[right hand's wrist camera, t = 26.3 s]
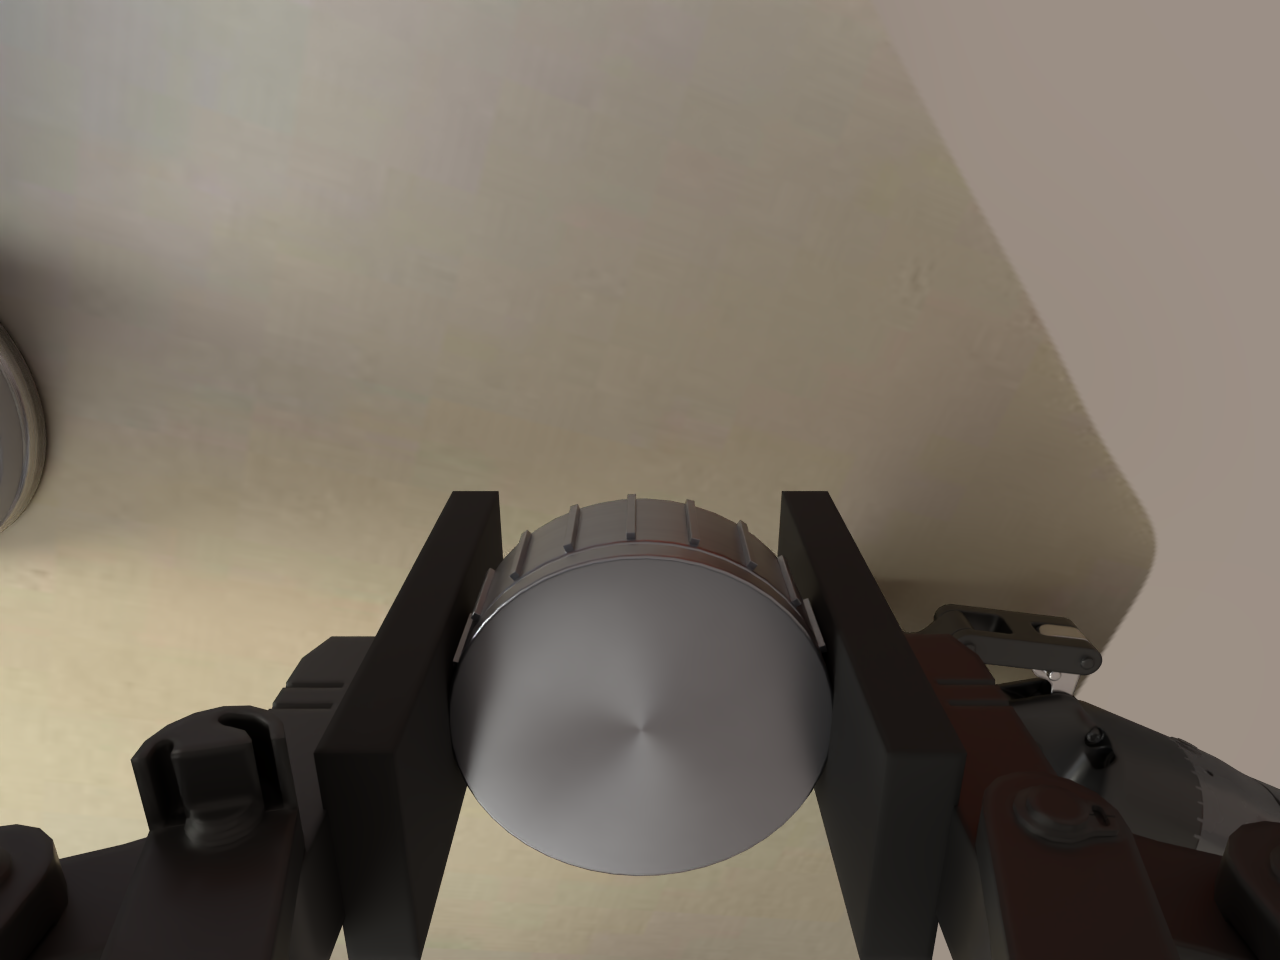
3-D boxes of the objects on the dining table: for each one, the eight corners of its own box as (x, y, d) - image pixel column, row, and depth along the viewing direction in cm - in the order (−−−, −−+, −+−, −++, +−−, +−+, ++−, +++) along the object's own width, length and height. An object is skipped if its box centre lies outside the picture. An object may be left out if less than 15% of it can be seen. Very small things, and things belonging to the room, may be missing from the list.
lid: (545, 435, 11) (528, 486, 9) (877, 574, 12) (915, 644, 10) (421, 723, 13) (388, 808, 11) (719, 829, 13) (731, 924, 12)
